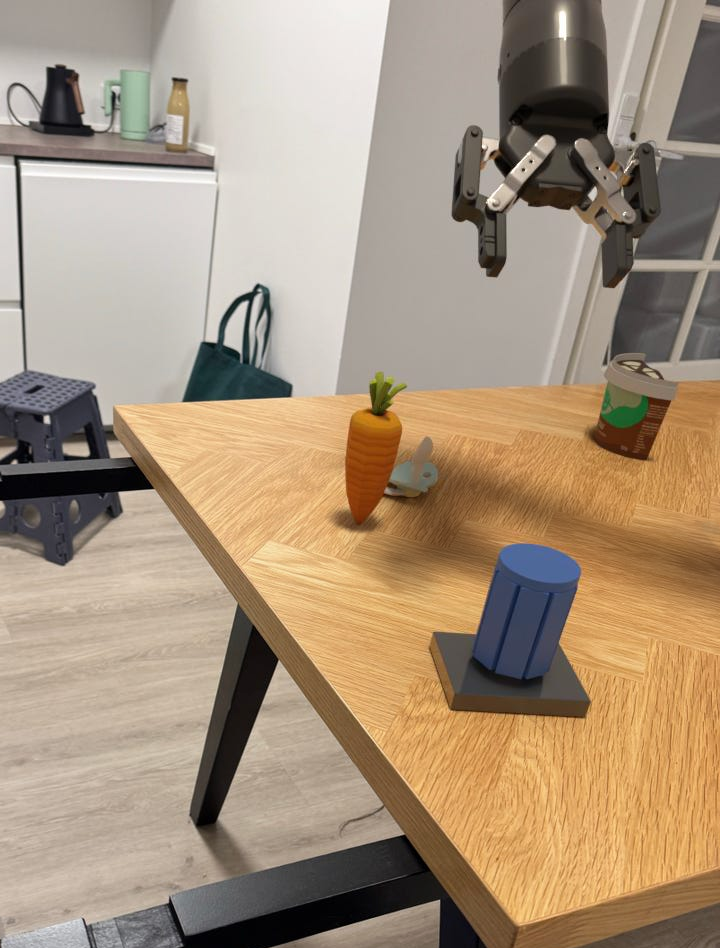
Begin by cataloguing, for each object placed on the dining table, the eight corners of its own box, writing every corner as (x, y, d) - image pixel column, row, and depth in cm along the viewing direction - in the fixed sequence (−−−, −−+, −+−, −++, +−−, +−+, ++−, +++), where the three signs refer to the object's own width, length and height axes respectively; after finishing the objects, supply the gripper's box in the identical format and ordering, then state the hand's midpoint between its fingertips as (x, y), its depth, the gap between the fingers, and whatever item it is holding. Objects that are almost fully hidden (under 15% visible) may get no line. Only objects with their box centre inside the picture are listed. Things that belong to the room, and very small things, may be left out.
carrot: (341, 508, 90) (365, 360, 82) (388, 519, 89) (418, 370, 81) (327, 527, 86) (351, 374, 78) (376, 540, 85) (406, 385, 77)
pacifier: (365, 495, 94) (419, 508, 92) (373, 438, 90) (430, 451, 88) (387, 472, 99) (439, 484, 97) (396, 418, 96) (450, 429, 94)
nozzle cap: (513, 629, 69) (542, 538, 65) (565, 669, 65) (598, 575, 61) (457, 643, 67) (482, 549, 63) (506, 685, 63) (537, 588, 59)
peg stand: (551, 654, 71) (588, 549, 66) (585, 717, 64) (628, 607, 59) (429, 646, 70) (455, 540, 65) (450, 709, 64) (481, 597, 59)
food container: (573, 423, 118) (596, 347, 112) (619, 428, 118) (644, 352, 113) (600, 459, 108) (627, 378, 102) (650, 464, 108) (680, 383, 102)
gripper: (473, 22, 61) (474, 233, 58) (674, 44, 62) (684, 252, 59) (441, 107, 68) (440, 298, 65) (621, 125, 69) (627, 314, 66)
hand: (556, 276), depth 62 cm, fingers open, 8 cm apart
